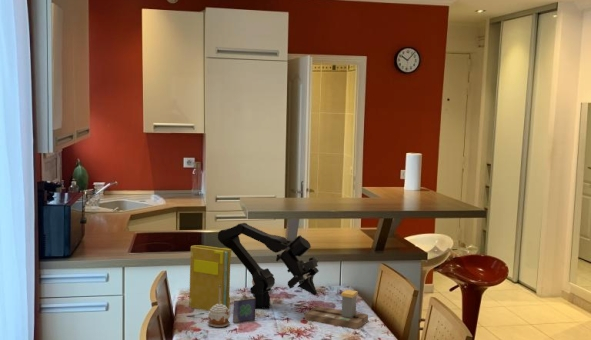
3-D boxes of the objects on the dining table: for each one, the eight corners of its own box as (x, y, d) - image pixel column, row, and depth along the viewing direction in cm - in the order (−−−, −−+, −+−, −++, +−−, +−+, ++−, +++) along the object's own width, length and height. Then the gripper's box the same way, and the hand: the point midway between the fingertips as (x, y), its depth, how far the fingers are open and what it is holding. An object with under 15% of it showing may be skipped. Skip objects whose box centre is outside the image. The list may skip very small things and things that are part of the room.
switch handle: (340, 320, 225) (341, 292, 224) (345, 316, 230) (346, 289, 230) (351, 322, 223) (352, 294, 223) (356, 318, 228) (357, 291, 228)
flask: (234, 323, 220) (235, 296, 220) (231, 321, 223) (232, 294, 222) (256, 320, 225) (257, 293, 224) (252, 318, 227) (253, 291, 227)
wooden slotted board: (304, 319, 228) (305, 312, 228) (316, 311, 239) (317, 305, 239) (357, 329, 219) (357, 322, 219) (367, 320, 230) (368, 314, 229)
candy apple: (230, 327, 216) (232, 288, 215) (210, 328, 213) (211, 288, 213) (227, 321, 223) (228, 282, 222) (207, 322, 221) (208, 283, 220)
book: (229, 309, 239) (231, 249, 237) (220, 313, 232) (222, 251, 231) (195, 303, 246) (196, 244, 244) (185, 306, 240) (187, 247, 238)
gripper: (296, 255, 225) (320, 287, 221) (315, 247, 242) (338, 278, 238) (277, 272, 229) (301, 304, 225) (297, 263, 246) (320, 293, 242)
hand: (316, 294), depth 232 cm, fingers closed
